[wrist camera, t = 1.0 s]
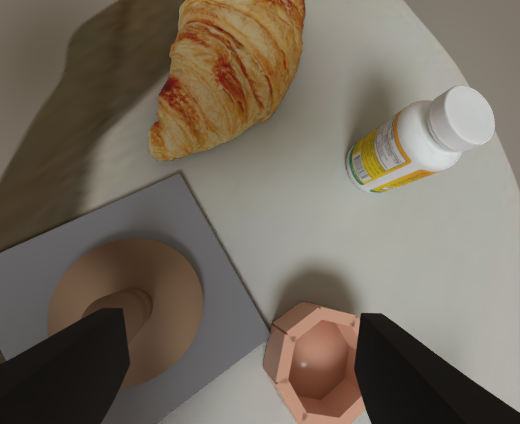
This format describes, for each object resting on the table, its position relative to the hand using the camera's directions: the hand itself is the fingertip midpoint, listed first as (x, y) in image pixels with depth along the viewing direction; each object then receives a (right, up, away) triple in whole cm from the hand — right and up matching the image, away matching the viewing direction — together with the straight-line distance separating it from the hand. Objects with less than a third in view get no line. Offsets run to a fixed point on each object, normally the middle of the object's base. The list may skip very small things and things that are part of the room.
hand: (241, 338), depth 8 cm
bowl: (+4, -7, +12) cm, 15 cm away
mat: (-8, -3, +10) cm, 13 cm away
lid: (-8, -2, +9) cm, 13 cm away
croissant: (-2, +16, +16) cm, 22 cm away
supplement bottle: (+11, +8, +17) cm, 22 cm away
